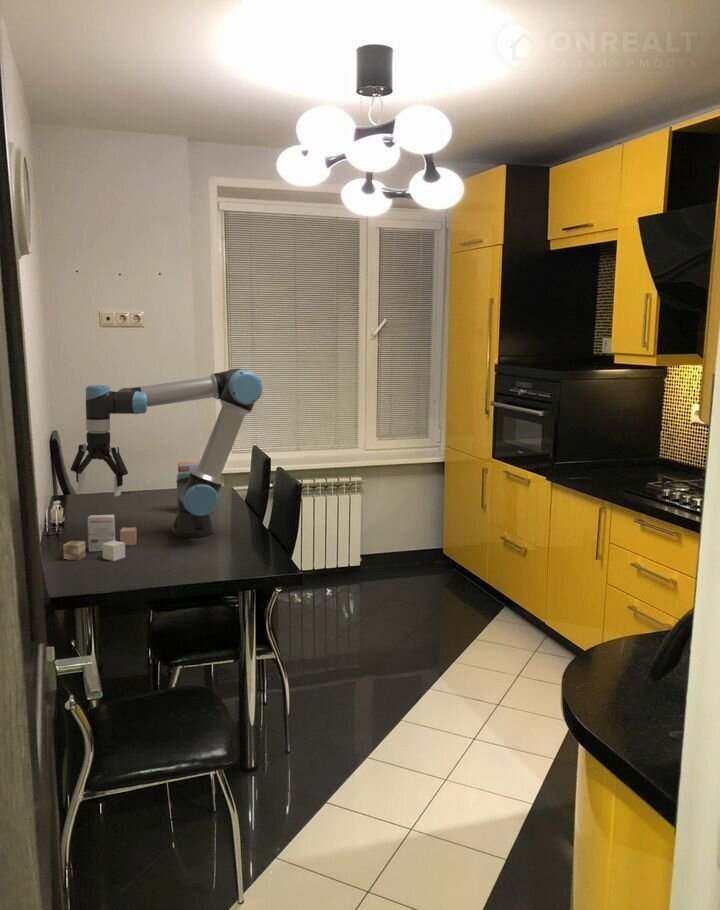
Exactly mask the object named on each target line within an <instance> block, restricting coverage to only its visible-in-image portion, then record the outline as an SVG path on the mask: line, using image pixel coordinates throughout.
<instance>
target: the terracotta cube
mask: <svg viewBox="0 0 720 910" xmlns="http://www.w3.org/2000/svg"><path fill="white" fill-rule="evenodd" d="M137 530H138V529H137V527H134V526H133V527H121V529H120V530H119V537H120V538H119V539H120V541H119V542H123V543H125V546H128V545H129V546H131V545H133V546H134V545H135V546H136V544H137V540H138V536H137Z"/></svg>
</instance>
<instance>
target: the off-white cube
mask: <svg viewBox="0 0 720 910" xmlns="http://www.w3.org/2000/svg"><path fill="white" fill-rule="evenodd" d="M102 548H103V551H102V559H104V560H108V561H113V562H115V561H118V560H121V559H124V558H126V545H125V543H123V542H120V541H118V540H115V541H111V542H107V543H104V544H102Z"/></svg>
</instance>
